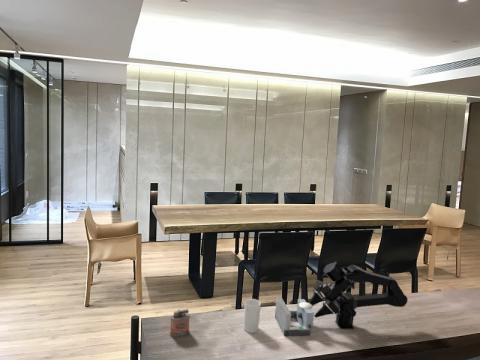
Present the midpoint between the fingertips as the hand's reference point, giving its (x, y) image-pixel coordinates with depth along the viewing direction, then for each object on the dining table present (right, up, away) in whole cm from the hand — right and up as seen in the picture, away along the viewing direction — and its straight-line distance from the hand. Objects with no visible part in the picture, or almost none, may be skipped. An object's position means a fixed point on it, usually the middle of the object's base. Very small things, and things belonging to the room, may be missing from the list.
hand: (311, 311), depth 177 cm
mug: (-27, -6, -3) cm, 28 cm away
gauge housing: (-9, -6, 0) cm, 11 cm away
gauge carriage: (-3, -6, 0) cm, 7 cm away
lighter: (-56, -5, -12) cm, 57 cm away
